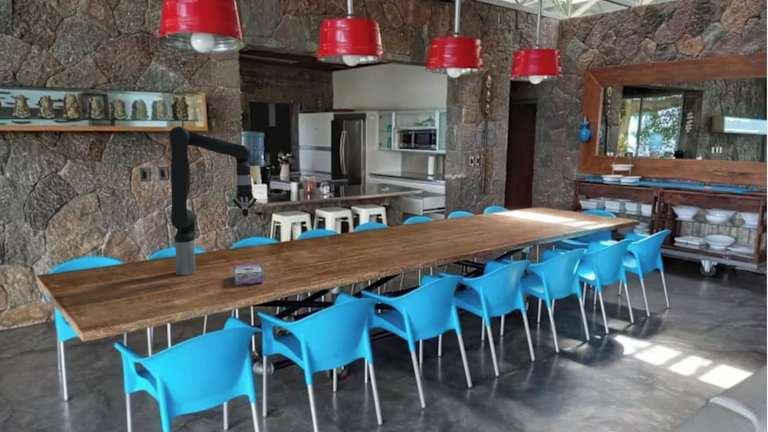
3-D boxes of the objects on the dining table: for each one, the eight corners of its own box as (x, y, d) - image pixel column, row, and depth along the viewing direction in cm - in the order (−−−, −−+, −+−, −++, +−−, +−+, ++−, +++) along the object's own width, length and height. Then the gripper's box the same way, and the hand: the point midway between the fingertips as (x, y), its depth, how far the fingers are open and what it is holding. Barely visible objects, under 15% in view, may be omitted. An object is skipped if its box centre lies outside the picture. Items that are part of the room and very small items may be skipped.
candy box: (234, 276, 272) (234, 285, 256) (233, 265, 271) (233, 273, 256) (262, 274, 276) (263, 283, 260) (261, 263, 275) (263, 271, 259)
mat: (226, 282, 262) (226, 281, 262) (228, 277, 271) (228, 277, 271) (264, 280, 265) (264, 280, 265) (265, 276, 273) (265, 275, 273)
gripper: (229, 184, 277) (231, 217, 280) (256, 184, 278) (257, 217, 281) (232, 183, 284) (233, 215, 287) (257, 182, 286) (259, 214, 289)
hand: (245, 216), depth 284 cm, fingers closed
